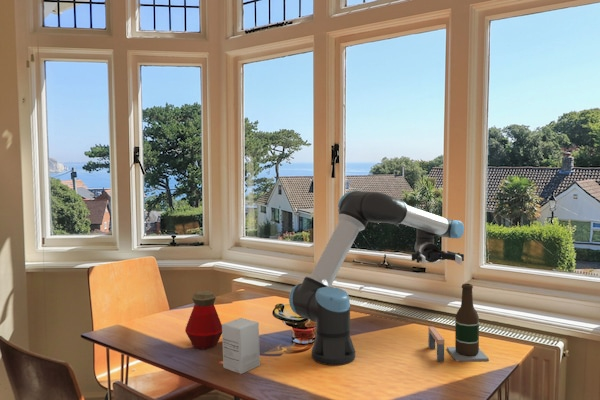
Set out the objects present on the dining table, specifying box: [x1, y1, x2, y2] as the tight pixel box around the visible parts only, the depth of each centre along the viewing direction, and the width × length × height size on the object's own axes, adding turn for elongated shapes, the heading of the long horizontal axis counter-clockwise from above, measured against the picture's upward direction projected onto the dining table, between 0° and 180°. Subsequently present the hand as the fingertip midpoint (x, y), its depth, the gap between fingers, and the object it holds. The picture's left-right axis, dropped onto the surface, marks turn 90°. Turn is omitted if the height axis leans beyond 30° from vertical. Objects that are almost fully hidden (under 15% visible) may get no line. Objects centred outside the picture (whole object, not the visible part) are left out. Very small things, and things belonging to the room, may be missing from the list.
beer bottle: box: [454, 283, 480, 356], centre depth 170 cm, size 8×8×24 cm
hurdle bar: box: [427, 326, 445, 345], centre depth 172 cm, size 2×14×2 cm, turn 178°
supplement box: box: [221, 317, 261, 375], centre depth 163 cm, size 9×9×15 cm
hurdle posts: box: [427, 331, 445, 363], centre depth 172 cm, size 2×14×6 cm, turn 179°
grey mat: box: [446, 346, 490, 362], centre depth 171 cm, size 11×11×1 cm
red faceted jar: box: [185, 290, 223, 350], centre depth 185 cm, size 16×14×20 cm
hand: (442, 260), depth 185 cm, fingers open, 13 cm apart
